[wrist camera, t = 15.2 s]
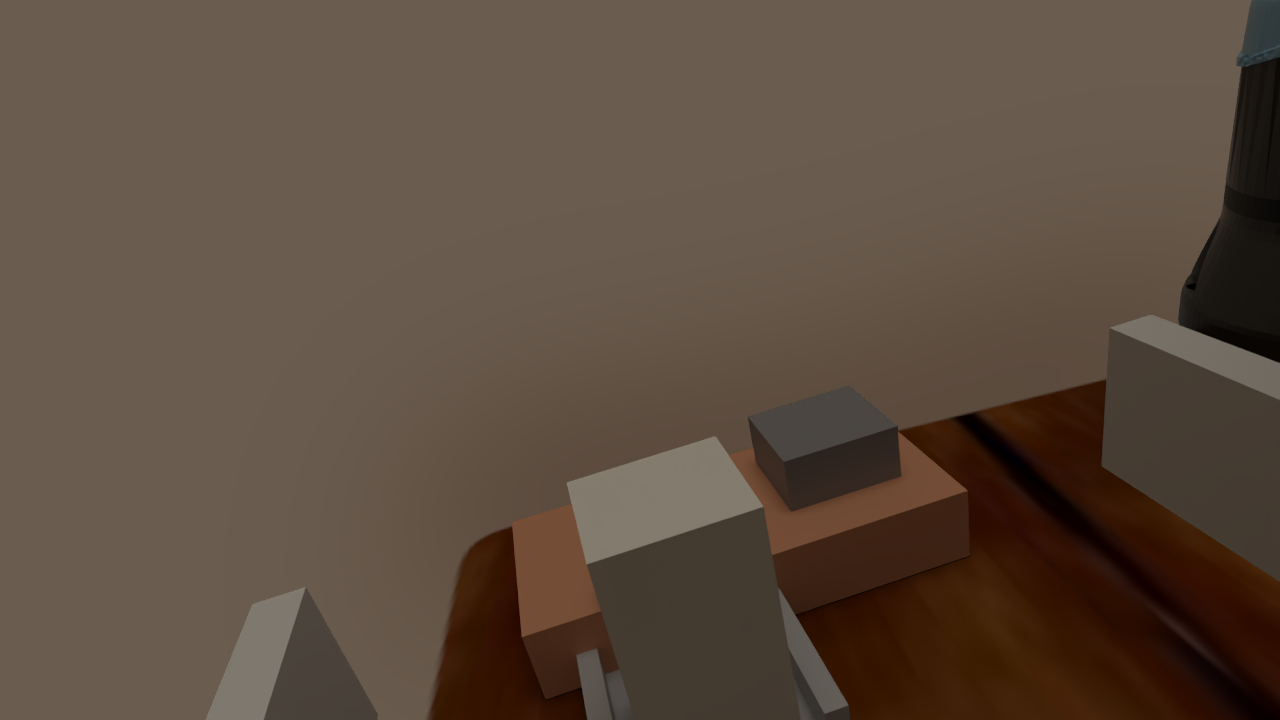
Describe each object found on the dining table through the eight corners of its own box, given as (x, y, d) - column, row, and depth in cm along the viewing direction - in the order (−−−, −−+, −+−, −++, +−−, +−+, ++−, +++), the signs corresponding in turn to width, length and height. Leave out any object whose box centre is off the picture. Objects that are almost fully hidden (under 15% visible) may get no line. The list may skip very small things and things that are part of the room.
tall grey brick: (759, 658, 33) (715, 436, 28) (806, 751, 28) (763, 506, 23) (634, 702, 32) (566, 482, 27) (661, 805, 28) (586, 564, 23)
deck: (878, 466, 44) (869, 365, 41) (1075, 659, 30) (1082, 524, 27) (531, 576, 42) (496, 478, 39) (562, 845, 27) (509, 719, 24)
